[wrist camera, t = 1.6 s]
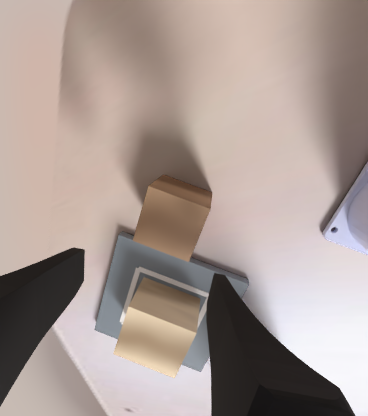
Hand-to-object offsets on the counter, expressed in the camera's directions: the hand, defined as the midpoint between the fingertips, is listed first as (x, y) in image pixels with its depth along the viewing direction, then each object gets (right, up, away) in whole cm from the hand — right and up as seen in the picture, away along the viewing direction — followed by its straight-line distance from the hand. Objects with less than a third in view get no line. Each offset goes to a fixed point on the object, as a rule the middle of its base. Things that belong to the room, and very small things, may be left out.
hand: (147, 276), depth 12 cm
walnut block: (+2, +4, +8) cm, 9 cm away
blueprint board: (0, -6, +12) cm, 13 cm away
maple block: (0, -7, +11) cm, 13 cm away
